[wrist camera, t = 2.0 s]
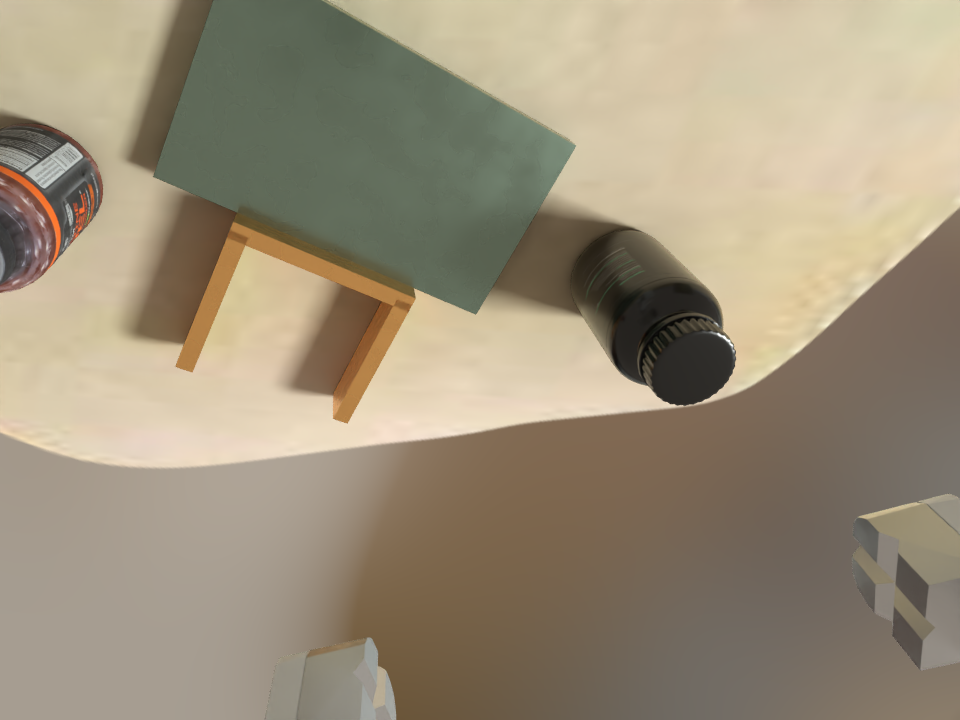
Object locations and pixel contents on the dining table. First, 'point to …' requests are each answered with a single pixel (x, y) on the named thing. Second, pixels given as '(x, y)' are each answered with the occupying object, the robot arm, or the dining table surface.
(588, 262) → the supplement bottle
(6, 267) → the supplement bottle
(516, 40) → the dining table surface
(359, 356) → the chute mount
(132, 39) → the dining table surface
